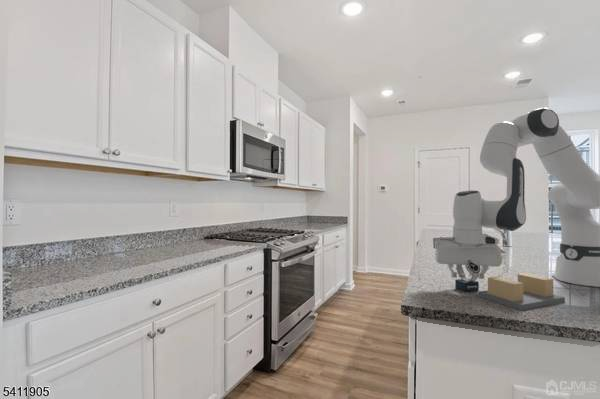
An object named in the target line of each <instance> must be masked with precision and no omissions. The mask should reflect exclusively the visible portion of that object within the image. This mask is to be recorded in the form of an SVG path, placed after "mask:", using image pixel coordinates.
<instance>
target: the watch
mask: <svg viewBox="0 0 600 399" xmlns="http://www.w3.org/2000/svg"><path fill="white" fill-rule="evenodd" d="M464 267H465V269H466V271H467V272H468V273H469V276H470V278H467V277H466V273H465V272H464ZM464 267H463V265H455V270H456V272H457V276H458V277H459V278H457V279H454V282H455V285H454V286H455V288H456V290H459V291H461V292H463V291H464V293H471V291H474V292H480V289H479V287H480V286H479V281H476V280H477V279H478V275H479V273H480V272H481V266H479V265H476V264H474V263H472V262H471V260H468V261H465V265H464Z"/></svg>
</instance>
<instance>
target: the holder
mask: <svg viewBox="0 0 600 399" xmlns="http://www.w3.org/2000/svg"><path fill="white" fill-rule="evenodd" d="M477 293H478V294H477V297H479V298H482V299H484V300H489V301H491V302H495V303H497V304H501V305H503V306H507V307H510V308H513V309H516V310H519V311H524V310H530V309H531V310H532V309H536V308H541V307H542V308H543V307H546V306H547V307H548V306H553V305H558V304H563V303H565V302H566V298H565V296H561V295H558V294H557V295H556V294H554V279H553V278H549V277H546V276H541V275H536V274H531V273H526V272H525V273H523V272H522V273H518V274H517V280H512V279H507V278H503V277H499V276H491V277H487V290H479V291H477Z"/></svg>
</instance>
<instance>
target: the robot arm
mask: <svg viewBox="0 0 600 399" xmlns="http://www.w3.org/2000/svg"><path fill="white" fill-rule="evenodd" d="M530 144H532V145H533V148H534V150H535V152H536V154H537V156H538V158H539V160H540V162H541V163H542V166H543V168H544V169H545V170H546V173H547V174H548V175H550V176H551V177H552V178H555V179H556V180H557V181H558V182H560V183H558V184H555V185H553V186H552V187H551V188H550V189H549V191H548V194H547V197H548V200H549V202H550V203H551V204H552V205H553V206H554V207H555V209H556V212H557V214H558V218H559V221H560V229H561V232H560V234H561V236H560V237H561V238H560V239H561V240H560V241H561V243H560V244H559V253H560V254H559V255H558V256H557V257H556V260H555V269H554V273H551V277H553V278H555V279H556V280H558V281H561V282H565V283H569V284H573V285H580V286H585V287H598V288H600V223H599V222H598V221H597V220H595V217H594V216H593V215H592V212H591V210H599V209H600V174H598V173H597V172H596V171H595V170H594V169H592V167H590V166H589V165H588V164H587V162H585V159H583V157H582V155H581V154H580V153H579V151H578V149H577V147H576V145H575V144H574V142H573V140H572V139H571V137H570V136H569V135H568V133H567V132H566V131H565V130H564V128H563V127H562V126H561V125H560V119H559V116H558V114H557V113H556V112H555V111H554V110H552V109H550V108H548V107H540V108H536V109H533V110H531V111H530V112H527V113H524V114H521V115H520V116H517V117H516V118H514V119H512V120H511V121H500V122H496V123H495V124H493V125H492V126H491V127H490V129H489V130H488V132H487V134H486V135H485V138H484V140H483V144H482V146H481V151H480V155H479V161H480V164H481V167H482V168H484V169H485V170H487V171H488V172H490V173H493V174H495V175H499V176H502V177H506V197H505V198H504V199H501V200H485V199H484V198H482V196H481V192H480V191H478V190H463V191H459V192H457V193H456V194H455V195H454V199H453V205H452V206H453V207H452V217H453V226H452V236H447V237H446V236H440V237H438V238H436V239H435V241H434V247H435V254H434V256H435V257H434V260H435V262H436V263H438V264H441V265H446V266H447V268H448V270H449V272H450V277H451V278H455V279H456V278H457V279H458V273H457V271H454V269H453V268H454V265H455V266H456V265H462V266H465V261H468V260H471V262H472V263H474V264H476V265H479V266H480V272H479V275H478V277H477V279H479V280H485V274H486V273H487V271H488V270H489V267H500V266H501V265H502V263H503V260H502V259H503V258H502V257H503V256H502V250H501V247H500V246H499V244H500V242H499V239H498V238H497V237H495V236H491V235H489V234H487V233H483V228H486V229H497V230H503V231H509V232H514V231H517V230H518V229H520V228H521V227H522V226H523V225H525V223H526V220H527V212H526V210H527V209H526V205H525V204H526V203H525V167H524V164H523V162H522V160H520V159H519V158H517V152H518V148H519V147H524V146H526V145H530Z"/></svg>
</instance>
